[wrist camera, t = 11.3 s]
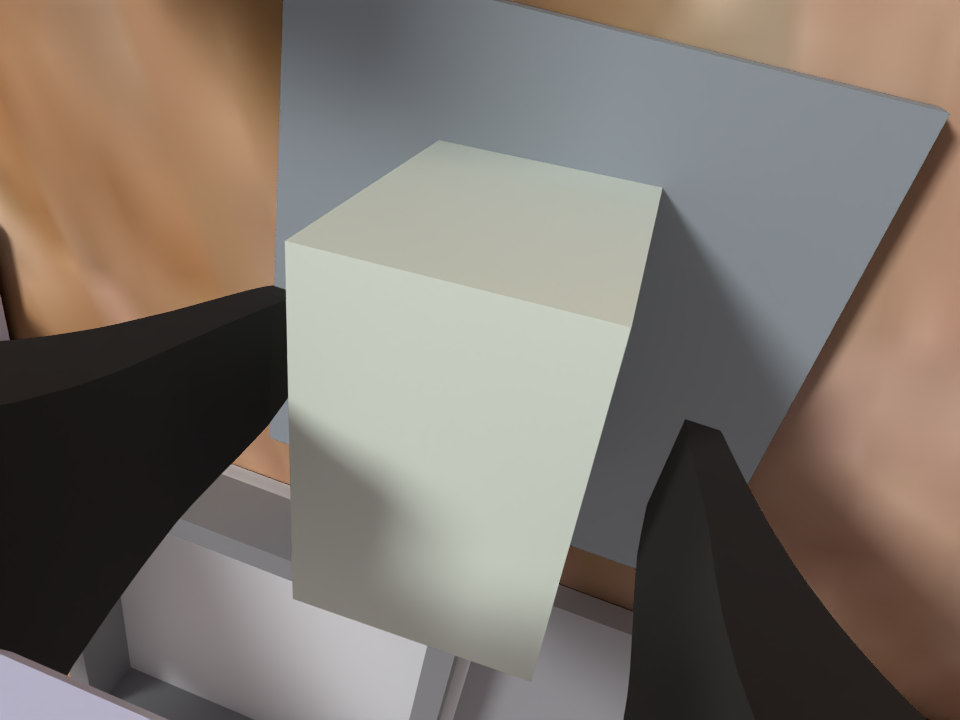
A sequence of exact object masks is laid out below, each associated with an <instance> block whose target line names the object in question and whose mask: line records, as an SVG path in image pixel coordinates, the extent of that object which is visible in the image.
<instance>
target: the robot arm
mask: <svg viewBox="0 0 960 720" xmlns="http://www.w3.org/2000/svg"><path fill="white" fill-rule="evenodd" d="M287 399H288V364H287V318H286V290H285V289H282V288H279V287H276V286H273V285H272V286H266V287H261V288H256V289H252V290H248V291H244V292H240V293H236V294H233V295H229V296H225V297H222V298H218V299H214V300H211V301H207V302H203V303H200V304H196V305H192V306H189V307H185V308H181V309H178V310H174V311H170V312H166V313H162V314H158V315H154V316H149V317H145V318H141V319H137V320H132V321H128V322H124V323H120V324H115V325H111V326H106V327H101V328H95V329H90V330H84V331H78V332H72V333H65V334H59V335H52V336H45V337H37V338H27V339H16V340H10V338H9V333H8V328H7V324H6V319H5V314H4V310H3V305H2V300H1V296H0V720H168V719H166V718H163V717H161V716H159V715H156V714H154V713H152V712H150V711H147V710H145V709H143V708H140V707H138V706H136V705H133V704H131V703H129V702H126V701H124V700H122V699H119V698H117V697H115V696H113V695H110V694H108V693H106V692H103V691H101V690H99V689H96V688H94V687H92V686H89V685H87V684H85V683H82V682H80V681H78V680H76V679H73V678H71V677H69V676H67V675H68V673H69V672H70V670H71V668H72V667H73V665H74V664H75V662H76V661H77V659H78V658H79V656H80V655H81V653H82V652H83V650H84V649H85V648H86V646H87V645H88V643H89V642H90V640H91V639H92V637H93V636H94V634H95V633H96V631H97V630H98V628H99V627H100V625H101V624H102V623H103V621H104V620H105V618H106V617H107V615H108V614H109V612H110V611H111V609H112V608H113V607H114V605H115V604H116V602H117V601H118V600H119V598H120V597H121V596H122V594H123V593H124V591H125V590H126V589H127V587H128V586H129V585H130V583H131V582H132V580H133V579H134V578H135V576H136V575H137V574H138V572H139V571H140V569H141V568H142V567H143V565H144V564H145V563H146V561H147V560H148V559H149V557H150V556H151V555H152V554H153V552H154V551H155V550H156V548H157V547H158V546H159V544H160V543H161V542H162V541H163V539H164V538H165V537H166V535H167V534H168V533H169V531H170V530H171V529H172V528H173V526H174V525H175V524H176V523H177V521H178V520H179V519H180V518H181V517H182V516H183V515H184V513H185V512H186V511H187V510H188V509H189V508H190V507H191V505H192V504H193V503H194V502H195V501H196V500H197V499H198V498H199V497H200V496H201V495H202V494H203V493H204V492H205V491H206V490H207V489H208V488H209V487H210V486H211V485H212V484H213V482H214V481H215V480H216V479H217V478H218V477H219V476H220V475H221V474H222V473H223V472H224V471H225V470H226V469H227V468H228V467H229V466H230V465H231V464H232V463H233V462H234V461H235V460H236V459H237V458H238V457H239V456H240V455H241V453H242V452H243V451H244V450H245V449H246V448H247V447H248V446H249V445H250V444H251V443H252V442H253V441H254V440H255V439H256V438H257V437H258V436H259V434H260V433H261V432H262V431H263V430H264V429H265V428H266V427H267V426H268V425H269V424H270V422H271V421H272V419H273V418H274V417H275V415H276V414H277V413H278V411H279V410H280V409H281V407H282V406H283V404H284V403H285V401H286V400H287ZM623 720H926V719H925V718H924V717H923V716H922V715H921V714H920V713H919V712H918V711H917V710H916V709H915V708H914V707H913V706H912V705H911V704H910V703H909V702H908V701H907V700H906V699H905V698H904V697H903V696H902V695H901V694H900V693H899V692H898V691H897V690H896V689H895V688H894V687H893V686H892V685H891V683H890V682H889V681H888V680H887V679H886V678H885V677H884V676H883V675H882V674H881V673H880V672H879V671H878V669H877V668H876V667H875V666H874V665H873V664H872V663H871V661H870V660H869V659H868V658H867V657H866V656H865V655H864V654H863V652H862V651H861V650H860V649H859V648H858V647H857V646H856V645H855V643H854V642H853V641H852V640H851V639H850V638H849V636H848V635H847V634H846V633H845V632H844V630H843V629H842V628H841V627H840V626H839V624H838V623H837V622H836V621H835V619H834V618H833V617H832V616H831V614H830V613H829V612H828V610H827V609H826V608H825V606H824V605H823V604H822V602H821V601H820V600H819V598H818V597H817V596H816V594H815V593H814V592H813V590H812V589H811V588H810V586H809V585H808V584H807V582H806V581H805V580H804V578H803V577H802V575H801V574H800V572H799V571H798V570H797V568H796V567H795V565H794V563H793V562H792V560H791V559H790V557H789V556H788V554H787V553H786V551H785V549H784V548H783V546H782V545H781V543H780V542H779V540H778V538H777V537H776V535H775V534H774V532H773V530H772V528H771V527H770V525H769V523H768V522H767V520H766V518H765V516H764V515H763V513H762V511H761V509H760V507H759V506H758V504H757V502H756V500H755V498H754V496H753V494H752V493H751V491H750V489H749V487H748V485H747V483H746V481H745V479H744V477H743V475H742V473H741V471H740V469H739V467H738V465H737V463H736V461H735V458H734V456H733V454H732V452H731V450H730V448H729V446H728V444H727V442H726V440H725V438H724V436H723V434H722V432H721V431H720V430H717V429H714V428H711V427H708V426H705V425H702V424H699V423H696V422H693V421H690V420H687V419H685V420H684V423H683V425H682V427H681V429H680V432H679V434H678V436H677V438H676V441H675V443H674V445H673V447H672V450H671V452H670V454H669V456H668V458H667V461H666V463H665V465H664V467H663V470H662V472H661V474H660V476H659V479H658V481H657V483H656V485H655V488H654V490H653V492H652V494H651V496H650V499H649V501H648V503H647V506H646V511H645V516H644V521H643V526H642V531H641V536H640V541H639V547H638V552H637V562H636V577H635V593H634V609H633V626H632V643H631V660H630V674H629V684H628V693H627V700H626V706H625V712H624V718H623Z"/></svg>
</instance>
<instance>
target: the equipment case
mask: <svg viewBox="0 0 960 720" xmlns="http://www.w3.org/2000/svg"><path fill="white" fill-rule="evenodd" d="M632 626H633V612H632V611H630V610H627V609H624V608H621V607H619V606H616V605H613V604H611V603H608V602H605V601H602V600H600V599H597V598H594V597H592V596H589V595H586V594H583V593H581V592H578V591H575V590H573V589H570V588H567V587H564V586H562V585H558V589H557V592H556V596H555V599H554V603H553V606H552V610H551V613H550V617H549V620H548V624H547V628H546V631H545V635H544V638H543V642H542V645H541V649H540V652H539V656H538V659H537V663H536V666H535V670H534V674H533V677H532V681H531V682H530V681H527V680H524V679H521V678H518V677H516V676H513V675H510V674H507V673H504V672H501V671H498V670H495V669H493V668H490V667H487V666H484V665H481V664H478V663H475V662H473V661H470V660H467V659H464V658H461V657H458V656H455V655H452V654H450V653H447V652H444V651H441V650H438V649H435V648H432V647H429V646H427V645H424V644H421V643H418V642H415V641H412V640H409V639H406V638H404V637H401V636H398V635H395V634H392V633H389V632H386V631H384V630H381V629H378V628H375V627H372V626H369V625H366V624H363V623H361V622H358V621H355V620H352V619H349V618H346V617H343V616H340V615H338V614H335V613H332V612H329V611H326V610H323V609H320V608H318V607H315V606H312V605H309V604H306V603H303V602H300V601H297V600H295V599H293V591H292V545H291V500H290V485H287V484H284V483H282V482H279V481H276V480H274V479H271V478H268V477H265V476H263V475H260V474H257V473H255V472H252V471H249V470H246V469H244V468H241V467H238V466H235V465H233V464H231V465H230V466H229V467H228V468H227V469H226V470H225V471H224V472H223V473H222V474H221V475H220V476H219V477H218V478H217V479H216V480H215V481H214V482H213V484H212V485H211V486H210V487H209V488H208V489H207V490H206V491H205V492H204V493H203V494H202V495H201V496H200V497H199V498H198V499H197V500H196V501H195V502H194V503H193V504H192V505H191V507H190V508H189V509H188V510H187V511H186V512H185V513H184V515H183V516H182V517H181V518H180V519H179V520H178V521H177V523H176V524H175V525H174V526H173V528H172V529H171V530H170V531H169V533H168V534H167V535H166V537H165V538H164V539H163V541H162V542H161V543H160V544H159V546H158V547H157V548H156V550H155V551H154V552H153V554H152V555H151V556H150V557H149V559H148V560H147V561H146V563H145V564H144V565H143V567H142V568H141V569H140V571H139V572H138V574H137V575H136V576H135V578H134V579H133V580H132V582H131V583H130V585H129V586H128V587H127V589H126V590H125V591H124V593H123V594H122V596H121V597H120V598H119V600H118V601H117V602H116V604H115V605H114V607H113V608H112V609H111V611H110V612H109V614H108V615H107V617H106V618H105V620H104V621H103V623H102V624H101V625H100V627H99V628H98V630H97V631H96V633H95V634H94V636H93V637H92V639H91V640H90V642H89V643H88V645H87V646H86V648H85V649H84V650H83V652H82V653H81V655H80V656H79V658H78V659H77V661H76V662H75V664H74V665H73V667H72V668H71V670H70V676H71V678H73V679H76V680H78V681H80V682H82V683H85V684H87V685H89V686H92V687H94V688H96V689H99V690H101V691H103V692H106V693H108V694H110V695H113V696H115V697H117V698H119V699H122V700H124V701H126V702H129V703H131V704H133V705H136V706H138V707H140V708H143V709H145V710H147V711H150V712H152V713H154V714H156V715H159V716H161V717H163V718H166V719H168V720H623V718H624V712H625V706H626V700H627V693H628V684H629V674H630V660H631V643H632Z"/></svg>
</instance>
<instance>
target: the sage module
mask: <svg viewBox="0 0 960 720" xmlns="http://www.w3.org/2000/svg"><path fill="white" fill-rule="evenodd" d="M661 192H662V187H657V186H652V185H648V184H643V183H638V182H633V181H629V180H624V179H619V178H615V177H610V176H605V175H601V174H596V173H591V172H586V171H582V170H577V169H572V168H568V167H563V166H558V165H553V164H549V163H544V162H539V161H535V160H530V159H525V158H521V157H516V156H511V155H506V154H502V153H497V152H492V151H488V150H483V149H478V148H473V147H469V146H464V145H459V144H455V143H450V142H445V141H440V140H438V141H437V142H435V143H434V144H432V145H431V146H429V147H428V148H426V149H425V150H423V151H422V152H420V153H418V154H417V155H415V156H414V157H412V158H411V159H409V160H408V161H406V162H405V163H403V164H402V165H400V166H399V167H397V168H396V169H394V170H392V171H391V172H389V173H388V174H386V175H385V176H383V177H382V178H380V179H379V180H377V181H376V182H374V183H373V184H371V185H370V186H368V187H366V188H365V189H363V190H362V191H360V192H359V193H357V194H356V195H354V196H353V197H351V198H350V199H348V200H347V201H345V202H344V203H342V204H340V205H339V206H337V207H336V208H334V209H333V210H331V211H330V212H328V213H327V214H325V215H324V216H322V217H321V218H319V219H318V220H316V221H315V222H313V223H311V224H310V225H308V226H307V227H305V228H304V229H302V230H301V231H299V232H298V233H296V234H295V235H293V236H292V237H290V238H289V239H287V240H285V273H286V318H287V364H288V409H289V454H290V500H291V545H292V591H293V599H295V600H297V601H300V602H303V603H306V604H309V605H312V606H315V607H318V608H320V609H323V610H326V611H329V612H332V613H335V614H338V615H340V616H343V617H346V618H349V619H352V620H355V621H358V622H361V623H363V624H366V625H369V626H372V627H375V628H378V629H381V630H384V631H386V632H389V633H392V634H395V635H398V636H401V637H404V638H406V639H409V640H412V641H415V642H418V643H421V644H424V645H427V646H429V647H432V648H435V649H438V650H441V651H444V652H447V653H450V654H452V655H455V656H458V657H461V658H464V659H467V660H470V661H473V662H475V663H478V664H481V665H484V666H487V667H490V668H493V669H495V670H498V671H501V672H504V673H507V674H510V675H513V676H516V677H518V678H521V679H524V680H527V681H530V682H531V681H532V677H533V674H534V670H535V666H536V663H537V659H538V656H539V652H540V649H541V645H542V642H543V638H544V635H545V631H546V628H547V624H548V620H549V617H550V613H551V610H552V606H553V603H554V599H555V596H556V592H557V589H558V585H559V582H560V578H561V575H562V571H563V567H564V564H565V560H566V557H567V553H568V550H569V546H570V543H571V539H572V536H573V532H574V529H575V525H576V521H577V518H578V514H579V511H580V507H581V504H582V500H583V497H584V493H585V490H586V486H587V483H588V479H589V476H590V472H591V468H592V465H593V461H594V458H595V454H596V451H597V447H598V444H599V440H600V437H601V433H602V430H603V426H604V422H605V419H606V415H607V412H608V408H609V405H610V401H611V398H612V394H613V391H614V387H615V384H616V380H617V377H618V373H619V369H620V366H621V362H622V359H623V355H624V352H625V348H626V345H627V341H628V338H629V334H630V331H631V327H632V322H633V318H634V313H635V309H636V304H637V300H638V295H639V291H640V287H641V282H642V278H643V273H644V269H645V264H646V260H647V255H648V251H649V246H650V242H651V237H652V233H653V228H654V224H655V219H656V215H657V210H658V206H659V201H660V197H661Z"/></svg>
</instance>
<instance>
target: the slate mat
mask: <svg viewBox="0 0 960 720" xmlns="http://www.w3.org/2000/svg"><path fill="white" fill-rule="evenodd" d="M949 115H950V113H948V112H947V111H945V110H944V109H942V108H941V107H938V106H934V105H929V104H925V103H921V102H917V101H913V100H909V99H905V98H901V97H897V96H893V95H889V94H885V93H881V92H877V91H873V90H869V89H865V88H861V87H857V86H852V85H848V84H844V83H840V82H836V81H832V80H828V79H824V78H820V77H816V76H812V75H808V74H804V73H800V72H796V71H792V70H788V69H784V68H780V67H775V66H771V65H767V64H763V63H759V62H755V61H751V60H747V59H743V58H739V57H735V56H731V55H727V54H723V53H719V52H715V51H711V50H707V49H702V48H698V47H694V46H690V45H686V44H682V43H678V42H674V41H670V40H666V39H662V38H658V37H654V36H650V35H646V34H642V33H638V32H634V31H630V30H625V29H621V28H617V27H613V26H609V25H605V24H601V23H597V22H593V21H589V20H585V19H581V18H577V17H573V16H569V15H565V14H561V13H557V12H552V11H548V10H544V9H540V8H536V7H532V6H528V5H524V4H520V3H516V2H512V1H508V0H283V19H282V51H281V84H280V116H279V148H278V180H277V212H276V245H275V277H274V286H276V287H279V288H282V289H285V290H286V273H285V240H287V239H289V238H290V237H292V236H293V235H295V234H296V233H298V232H299V231H301V230H302V229H304V228H305V227H307V226H308V225H310V224H311V223H313V222H315V221H316V220H318V219H319V218H321V217H322V216H324V215H325V214H327V213H328V212H330V211H331V210H333V209H334V208H336V207H337V206H339V205H340V204H342V203H344V202H345V201H347V200H348V199H350V198H351V197H353V196H354V195H356V194H357V193H359V192H360V191H362V190H363V189H365V188H366V187H368V186H370V185H371V184H373V183H374V182H376V181H377V180H379V179H380V178H382V177H383V176H385V175H386V174H388V173H389V172H391V171H392V170H394V169H396V168H397V167H399V166H400V165H402V164H403V163H405V162H406V161H408V160H409V159H411V158H412V157H414V156H415V155H417V154H418V153H420V152H422V151H423V150H425V149H426V148H428V147H429V146H431V145H432V144H434V143H435V142H437V141H438V140H440V141H445V142H450V143H455V144H459V145H464V146H469V147H473V148H478V149H483V150H488V151H492V152H497V153H502V154H506V155H511V156H516V157H521V158H525V159H530V160H535V161H539V162H544V163H549V164H553V165H558V166H563V167H568V168H572V169H577V170H582V171H586V172H591V173H596V174H601V175H605V176H610V177H615V178H619V179H624V180H629V181H633V182H638V183H643V184H648V185H652V186H657V187H662V192H661V197H660V201H659V206H658V210H657V215H656V219H655V224H654V228H653V233H652V237H651V242H650V246H649V251H648V255H647V260H646V264H645V269H644V273H643V278H642V282H641V287H640V291H639V295H638V300H637V304H636V309H635V313H634V318H633V322H632V327H631V331H630V334H629V338H628V341H627V345H626V348H625V352H624V355H623V359H622V362H621V366H620V369H619V373H618V377H617V380H616V384H615V387H614V391H613V394H612V398H611V401H610V405H609V408H608V412H607V415H606V419H605V422H604V426H603V430H602V433H601V437H600V440H599V444H598V447H597V451H596V454H595V458H594V461H593V465H592V468H591V472H590V476H589V479H588V483H587V486H586V490H585V493H584V497H583V500H582V504H581V507H580V511H579V514H578V518H577V521H576V525H575V529H574V532H573V536H572V539H571V543H570V546H573V547H576V548H579V549H582V550H584V551H587V552H590V553H593V554H595V555H598V556H601V557H604V558H607V559H609V560H612V561H615V562H618V563H621V564H623V565H626V566H629V567H632V568H634V569H636V562H637V552H638V547H639V541H640V536H641V531H642V526H643V521H644V516H645V511H646V506H647V503H648V501H649V499H650V496H651V494H652V492H653V490H654V488H655V485H656V483H657V481H658V479H659V476H660V474H661V472H662V470H663V467H664V465H665V463H666V461H667V458H668V456H669V454H670V452H671V450H672V447H673V445H674V443H675V441H676V438H677V436H678V434H679V432H680V429H681V427H682V425H683V423H684V420H685V419H687V420H690V421H693V422H696V423H699V424H702V425H705V426H708V427H711V428H714V429H717V430H720V431H721V432H722V434H723V436H724V438H725V440H726V442H727V444H728V446H729V448H730V450H731V452H732V454H733V456H734V458H735V461H736V463H737V465H738V467H739V469H740V471H741V473H742V475H743V477H744V479H745V481H746V483H747V485H748V483H749V481H750V479H751V477H752V475H753V474H754V472H755V470H756V468H757V466H758V464H759V463H760V461H761V459H762V457H763V455H764V453H765V452H766V450H767V448H768V446H769V444H770V442H771V441H772V439H773V437H774V435H775V433H776V431H777V430H778V428H779V426H780V424H781V422H782V421H783V419H784V417H785V415H786V413H787V411H788V410H789V408H790V406H791V404H792V402H793V400H794V399H795V397H796V395H797V393H798V391H799V389H800V388H801V386H802V384H803V382H804V380H805V378H806V377H807V375H808V373H809V371H810V369H811V367H812V366H813V364H814V362H815V360H816V358H817V356H818V355H819V353H820V351H821V349H822V347H823V345H824V344H825V342H826V340H827V338H828V336H829V334H830V333H831V331H832V329H833V327H834V325H835V323H836V322H837V320H838V318H839V316H840V314H841V312H842V311H843V309H844V307H845V305H846V303H847V301H848V300H849V298H850V296H851V294H852V292H853V290H854V289H855V287H856V285H857V283H858V281H859V279H860V278H861V276H862V274H863V272H864V270H865V268H866V267H867V265H868V263H869V261H870V259H871V257H872V256H873V254H874V252H875V250H876V248H877V246H878V245H879V243H880V241H881V239H882V237H883V235H884V234H885V232H886V230H887V228H888V226H889V224H890V223H891V221H892V219H893V217H894V215H895V213H896V212H897V210H898V208H899V206H900V204H901V203H902V201H903V199H904V197H905V195H906V193H907V192H908V190H909V188H910V186H911V184H912V182H913V181H914V179H915V177H916V175H917V173H918V171H919V170H920V168H921V166H922V164H923V162H924V160H925V159H926V157H927V155H928V153H929V151H930V149H931V148H932V146H933V144H934V142H935V140H936V138H937V137H938V135H939V133H940V131H941V129H942V127H943V126H944V124H945V122H946V120H947V118H948V116H949ZM270 438H272V439H275V440H278V441H280V442H283V443H286V444H289V409H288V399H287V400H286V401H285V403H284V404H283V406H282V407H281V409H280V410H279V411H278V413H277V414H276V415H275V417H274V418H273V419H272V421H271V422H270Z"/></svg>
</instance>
